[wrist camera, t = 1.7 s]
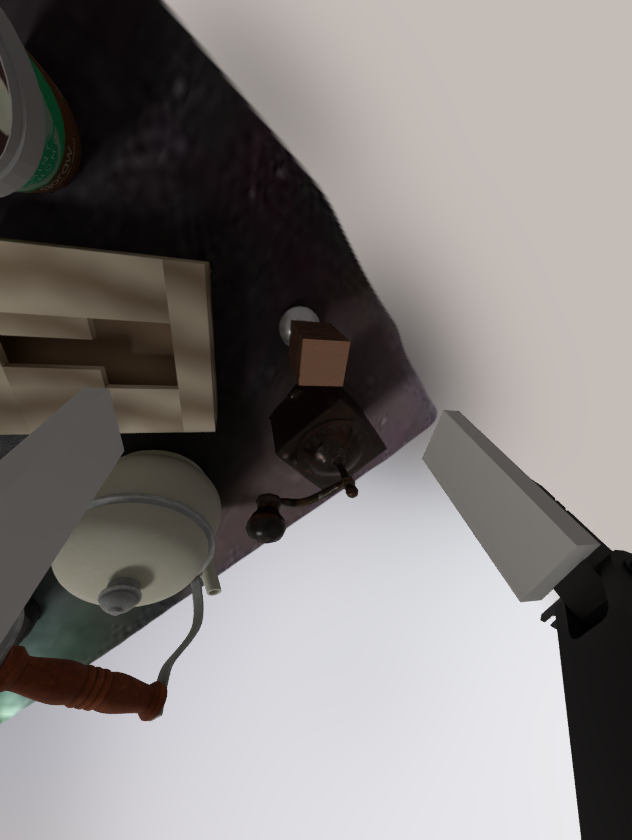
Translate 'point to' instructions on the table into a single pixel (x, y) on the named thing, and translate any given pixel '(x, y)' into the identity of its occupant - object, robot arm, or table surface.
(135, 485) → the kettle
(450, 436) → the robot arm
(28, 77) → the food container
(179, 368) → the keyhole plate
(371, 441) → the manual coffee grinder
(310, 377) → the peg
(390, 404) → the table surface
